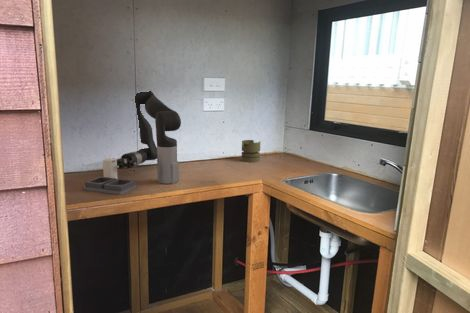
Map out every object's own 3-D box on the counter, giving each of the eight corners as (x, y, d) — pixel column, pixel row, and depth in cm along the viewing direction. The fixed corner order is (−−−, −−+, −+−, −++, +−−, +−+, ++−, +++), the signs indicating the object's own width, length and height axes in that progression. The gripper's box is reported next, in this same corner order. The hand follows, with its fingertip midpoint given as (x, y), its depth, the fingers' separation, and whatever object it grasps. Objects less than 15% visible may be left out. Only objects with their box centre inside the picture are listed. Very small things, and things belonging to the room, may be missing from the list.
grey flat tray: (136, 187, 164) (136, 180, 163) (120, 194, 153) (120, 187, 152) (101, 182, 170) (100, 176, 169) (83, 189, 159) (82, 182, 158)
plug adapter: (117, 179, 177) (116, 158, 175) (111, 181, 172) (110, 160, 170) (110, 178, 178) (109, 158, 176) (103, 180, 174) (102, 160, 172)
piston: (251, 139, 232) (264, 141, 224) (250, 158, 234) (263, 161, 226) (238, 141, 224) (251, 143, 216) (237, 160, 227) (250, 163, 219)
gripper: (119, 151, 192) (98, 157, 177) (143, 153, 187) (124, 159, 172) (120, 165, 193) (99, 172, 178) (143, 167, 189) (124, 175, 174)
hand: (111, 165), depth 175 cm, fingers open, 8 cm apart
